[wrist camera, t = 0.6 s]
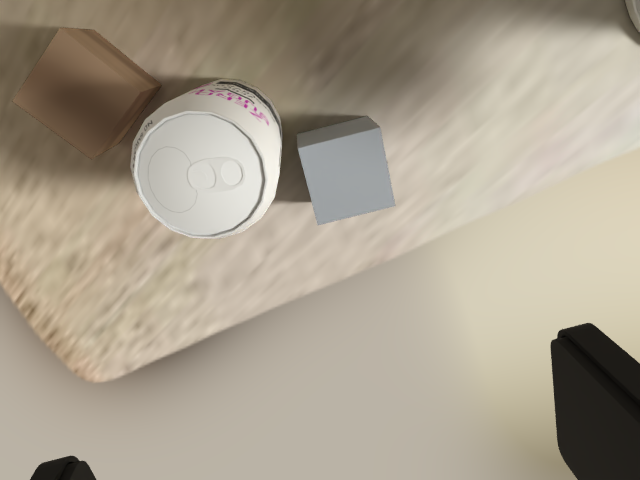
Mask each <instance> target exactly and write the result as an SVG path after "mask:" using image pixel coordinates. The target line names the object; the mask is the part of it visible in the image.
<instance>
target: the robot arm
mask: <svg viewBox="0 0 640 480" xmlns="http://www.w3.org/2000/svg"><path fill="white" fill-rule="evenodd" d="M625 2H626V6H627V9H628V12H629V15H630V18H631V20H632V22H633V24H634V25H635V27H636V29H637V30H638V31H639V33H640V0H625ZM551 359H552V372H553V386H554V400H555V413H556V427H557V440H558V447H559V450H560V453H561V455H562V457H563V459H564V461H565V462H566V464H567V465H568V467H569V468H570V470H571V471H572V472H573V473H574V475H575V476H576V478H577V479H578V480H640V364H639V363H638V362H637V361H636V360H635V359H634V358H632V357H631V356H630V355H629V354H628V353H627V352H625V351H624V350H623V349H622V348H620V347H619V346H618V345H617V344H616V343H615V342H614V341H612V340H611V339H610V338H609V337H608V336H606V335H605V334H604V333H603V332H602V331H600V330H599V329H598V328H597V327H596V326H594V325H593V324H591V323H586V324H582V325H578V326H574V327H570V328H567V329H562V330H560V331H559V332H558V337H557V339H555V340H552V342H551ZM30 480H96V478H95V476H94V474H93V473H92V471H91V469H90V467H89V465H88V464H87V463H86V462H85V461H79V460H78V459H77V458H76V457H75V456H68V457H64V458H60V459H56V460H52V461H48V462H44V463H42V464H40V465H39V466H38V467H37V469H36V470H35V472H34V474H33V476H32V477H31V479H30Z"/></svg>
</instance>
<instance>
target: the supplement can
mask: <svg viewBox="0 0 640 480" xmlns="http://www.w3.org/2000/svg"><path fill="white" fill-rule="evenodd" d="M282 138H283V134H282V127H281V120H280V116H279V114H278V112H277V110H276V108H275V107H274V105H273V103H272V101H271V100H270V99H269V98H268V97H267V96H266V95H265V94H264V93H263V92H262V91H261V90H259V89H258V88H257V87H255V86H253V85H250V84H248V83H246V82H243V81H241V80H232V79H219V80H216V81H213V82H210V83H207V84H204V85H201V86H199V87H197V88H195V89H193V90H191V91H189V92H187V93H185V94H183V95H181V96H179V97H177V98H174V99H172V100H170V101H168V102H166V103H164V104H163V105H162V106H161V107H159V108H158V109H157V110H156V111H155V112H153V113H152V114H151V115H150V116H149V117H147V118H146V119H145V120H144V122H143V124H142V126H141V128H140V130H139V132H138V133H137V135H136V137H135V139H134V141H133V145H132V155H131V165H130V169H131V172H132V176H133V180H134V184H135V188H136V191H137V193H138V195H139V197H140V198H141V200H142V201H143V203H144V204H145V206H146V207H147V209H148V210H149V212H150V213H151V215H152V216H153V217H154V218H156V219H157V220H158V221H160V222H161V223H162V224H163V225H165V226H166V227H167V228H169V229H170V230H172V231H175V232H178V233H180V234H183V235H186V236H189V237H191V238H211V239H221V238H224V237H227V236H231V235H234V234H237V233H241V232H243V231H245V230H246V229H247V228H249V227H250V226H251V225H253V224H254V223H255V222H257V221H258V220H259V219H261V218H262V217H263V215H264V213H265V212H266V210H267V209H268V207H269V206H270V204H271V203H272V201H273V199H274V198H275V193H276V189H277V184H278V179H279V174H280V162H281V150H282Z"/></svg>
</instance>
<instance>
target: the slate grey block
mask: <svg viewBox="0 0 640 480" xmlns="http://www.w3.org/2000/svg"><path fill="white" fill-rule="evenodd" d="M297 145H298V151H299V155H300V159H301V163H302V167H303V170H304V174H305V178H306V182H307V186H308V189H309V193H310V197H311V201H312V205H313V209H314V212H315V216H316V220H317V224H318V225H321V224H325V223H329V222H333V221H337V220H341V219H345V218H349V217H353V216H357V215H361V214H365V213H369V212H373V211H377V210H381V209H385V208H389V207H393V206H395V201H394V196H393V191H392V186H391V181H390V175H389V170H388V165H387V160H386V155H385V150H384V145H383V139H382V134H381V129H380V127H379V126H378V125H377V124H376V123H375V122H374V121H373V120H372V119H371V118H370V117H368V116H366V117H362V118H358V119H354V120H350V121H346V122H342V123H338V124H334V125H330V126H326V127H323V128H319V129H315V130H311V131H307V132H303V133H299V134H297Z"/></svg>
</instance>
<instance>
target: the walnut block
mask: <svg viewBox="0 0 640 480" xmlns="http://www.w3.org/2000/svg"><path fill="white" fill-rule="evenodd" d="M161 86H162V85H161V84H160V83H159V82H157V81H156V80H155V79H154V78H152V77H151V76H150V75H149V74H148V73H146V72H145V71H144V70H143V69H141V68H140V67H139V66H138V65H137V64H135V63H134V62H133V61H132V60H130V59H129V58H128V57H127V56H126V55H124V54H123V53H122V52H121V51H119V50H118V49H117V48H116V47H114V46H113V45H112V44H111V43H110V42H108V41H107V40H106V39H105V38H103V37H102V36H101V35H100V34H99V33H97V32H96V31H95V30H88V29H73V28H60V29H59V30H58V32H57V33H56V35H55V36H54V38H53V39H52V41H51V42H50V44H49V45H48V47H47V49H46V50H45V52H44V53H43V55H42V56H41V58H40V59H39V61H38V62H37V64H36V65H35V67H34V68H33V70H32V72H31V73H30V75H29V76H28V78H27V79H26V81H25V82H24V84H23V85H22V87H21V88H20V90H19V91H18V93H17V94H16V96H15V98H14V99H13V101H12V102H14V103H15V104H17V105H18V106H19V107H21V108H22V109H23V110H25V111H26V112H27V113H29V114H30V115H32V116H33V117H34V118H36V119H37V120H38V121H40V122H41V123H43V124H44V125H45V126H47V127H48V128H49V129H51V130H52V131H53V132H55V133H56V134H58V135H59V136H60V137H62V138H63V139H64V140H66V141H67V142H68V143H70V144H71V145H73V146H74V147H75V148H77V149H78V150H79V151H81V152H82V153H83V154H85V155H86V156H88V157H89V158H90V159H93V158H95V157H96V156H98V155H100V154H102V153H103V152H105V151H107V150H108V149H110V148H112V147H114V146H115V145H117V144H119V142H120V141H121V140H122V138H123V137H124V136H125V134H126V133H127V132H128V130H129V129H130V128H131V126H132V125H133V123H134V122H135V121H136V119H137V118H138V117H139V115H140V114H141V113H142V111H143V110H144V109H145V107H146V106H147V104H148V103H149V102H150V100H151V99H152V98H153V96H154V95H155V94H156V92H157V91H158V90H159V88H160V87H161Z"/></svg>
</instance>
